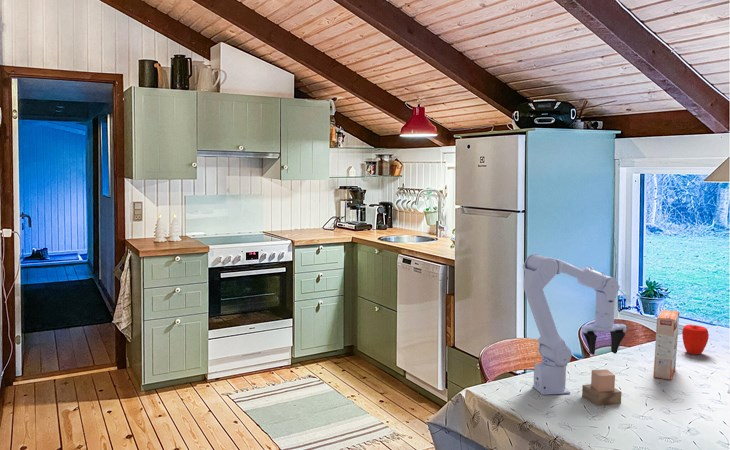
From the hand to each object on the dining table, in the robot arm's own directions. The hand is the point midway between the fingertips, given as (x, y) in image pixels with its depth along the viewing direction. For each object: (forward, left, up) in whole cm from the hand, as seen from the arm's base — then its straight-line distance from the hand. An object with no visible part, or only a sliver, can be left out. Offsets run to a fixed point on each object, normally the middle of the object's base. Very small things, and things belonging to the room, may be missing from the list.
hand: (602, 353), depth 204 cm
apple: (+52, +27, -11) cm, 60 cm away
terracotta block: (-7, -13, -7) cm, 16 cm away
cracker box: (+27, +7, -11) cm, 30 cm away
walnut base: (-7, -13, -11) cm, 18 cm away
